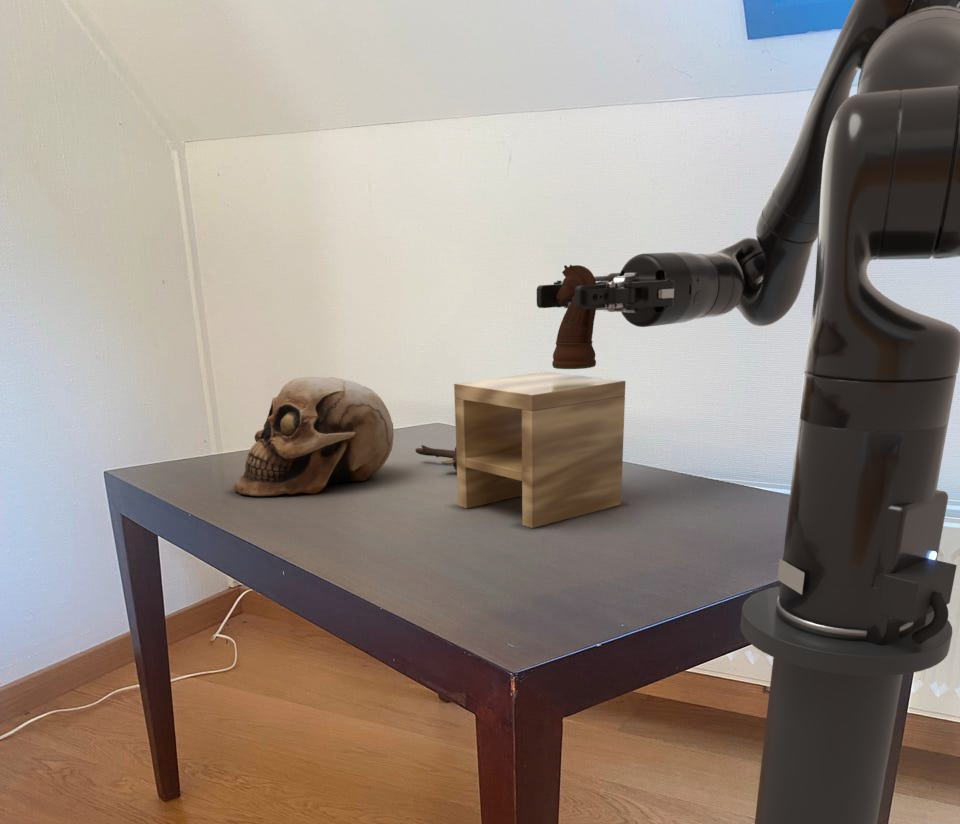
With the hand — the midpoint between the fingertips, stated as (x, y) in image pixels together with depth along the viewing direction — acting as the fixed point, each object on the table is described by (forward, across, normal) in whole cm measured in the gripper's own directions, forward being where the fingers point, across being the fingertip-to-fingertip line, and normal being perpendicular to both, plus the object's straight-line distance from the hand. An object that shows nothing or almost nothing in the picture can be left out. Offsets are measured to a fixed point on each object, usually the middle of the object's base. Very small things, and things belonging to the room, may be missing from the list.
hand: (558, 297), depth 92 cm
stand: (+3, 0, +21) cm, 21 cm away
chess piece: (-3, 0, +7) cm, 8 cm away
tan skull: (+15, -27, +21) cm, 37 cm away
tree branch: (-6, -20, +21) cm, 30 cm away
